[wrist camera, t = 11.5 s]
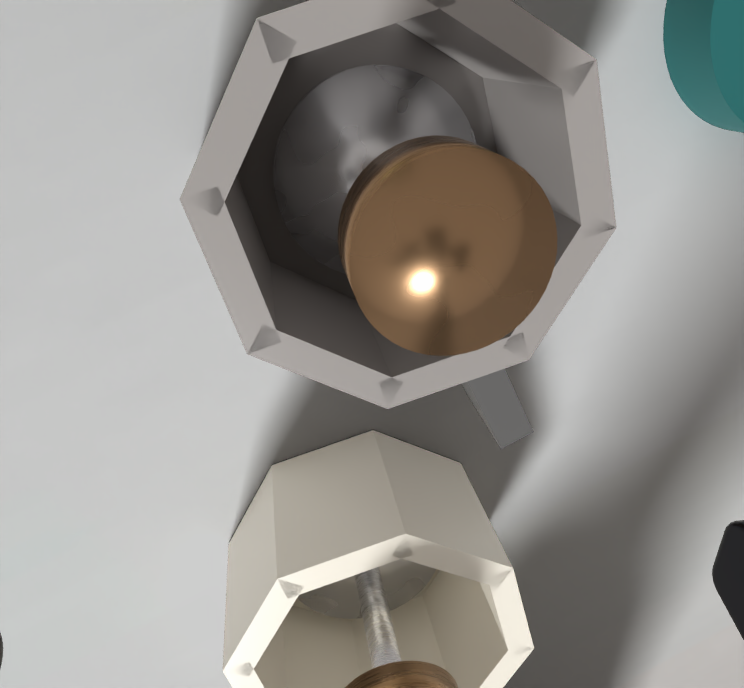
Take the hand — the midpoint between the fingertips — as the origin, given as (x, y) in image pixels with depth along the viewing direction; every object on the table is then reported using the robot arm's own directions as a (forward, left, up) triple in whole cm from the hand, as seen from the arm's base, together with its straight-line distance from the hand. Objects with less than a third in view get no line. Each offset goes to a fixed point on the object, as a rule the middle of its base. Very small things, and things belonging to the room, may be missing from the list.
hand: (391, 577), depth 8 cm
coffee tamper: (0, -3, -12) cm, 12 cm away
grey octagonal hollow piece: (0, -3, -13) cm, 13 cm away
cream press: (-6, +9, -13) cm, 17 cm away
